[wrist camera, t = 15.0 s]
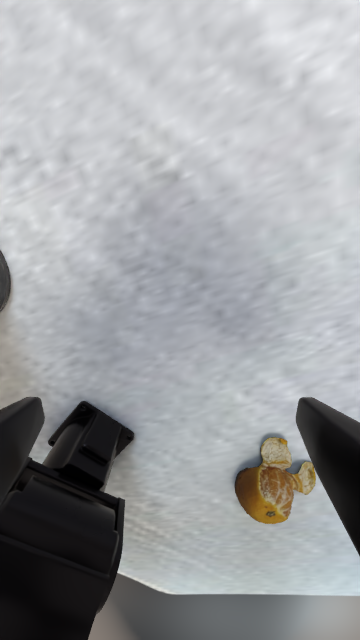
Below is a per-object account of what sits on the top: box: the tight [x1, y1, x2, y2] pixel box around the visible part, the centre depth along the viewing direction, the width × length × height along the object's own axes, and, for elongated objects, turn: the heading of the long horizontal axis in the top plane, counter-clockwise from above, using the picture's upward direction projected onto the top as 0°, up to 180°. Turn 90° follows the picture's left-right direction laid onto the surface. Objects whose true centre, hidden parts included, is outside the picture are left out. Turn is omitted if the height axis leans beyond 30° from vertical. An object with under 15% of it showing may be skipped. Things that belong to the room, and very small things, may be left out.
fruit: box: [235, 437, 316, 524], centre depth 24 cm, size 8×8×4 cm
